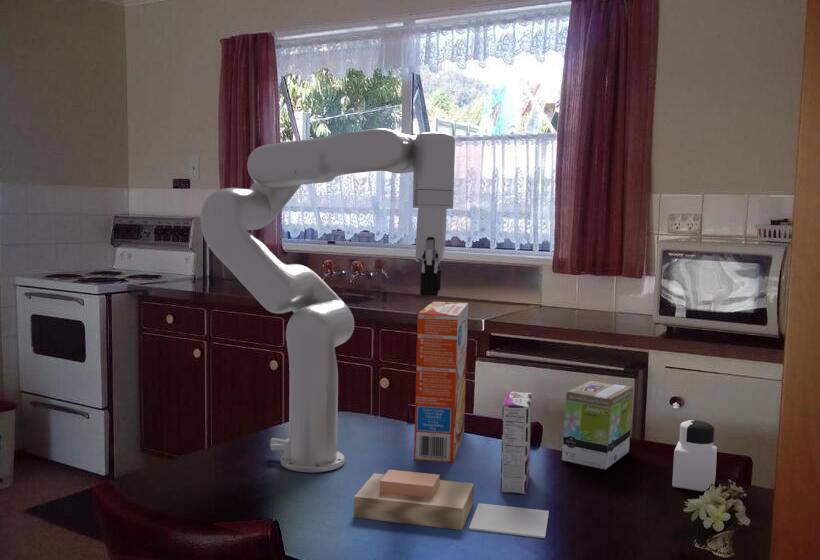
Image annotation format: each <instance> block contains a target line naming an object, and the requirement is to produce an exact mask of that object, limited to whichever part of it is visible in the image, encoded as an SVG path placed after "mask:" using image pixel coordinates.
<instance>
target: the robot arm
mask: <svg viewBox="0 0 820 560" xmlns="http://www.w3.org/2000/svg"><path fill="white" fill-rule="evenodd" d="M455 153H456V141H455V137H454V136H453V135H452V134H451V133H448V132H441V131H440V132H437V131H428V132H427V131H426V132H421V133H418V134H417V135H411V134H405V133H402V132H401V131H396V130H394V129H389V128H372V129H371V128H370V129H363V130H362V129H361V130H355V131H347V132H342V133H337V134H332V135H327V136H323V137H316V138H308V139H302V140H301V139H300V140H294V141H293V140H292V141H284V142H276V143H268V144H263V145H261V146H258V147H256V148H255V149H253V150H252V151H251V153H250V154H249V156H248V158H247V164H246V165H247V172H248V175H249V176H250V178H251V179H252V181H253V183H252V184H251V185H250V186H249V188H239V187H226V188H220V189H218V190H215V191H213V192H212V193H210V194H209V196H207V197H206V199H205V201H204V203H203V206H202V208H201V212H200V213H201V214H200V228H201V229H200V230H201V232H202V236H203V239H204V241H205V242H206V245H207V246H208V248H209V249H210V251H211V252H212V253H213V254H214V255H215V257H217V259H218V260H219V261H220V262H221V263H222V264H223V265H224V266H225V267H226V268H227V269H228V270H229V271H230V272H231V273H232V274H233V275H234V276H235V277H236V278H237V280H238V281H239V282H240V283H241V285H243V286H244V287H245V289H246V290H247V291H248V292H249V293H250V294H251V295H252V296H253V297H254V299H255V300H256V301H258V302H259V304H260V305H261V306H262V307H263V308H264V309H265V310H266V311H268V312H270V313H273V314H285V313H289V312H292V313H293V314H292V315H291V316H290V318H289V320H288V323H287V325H286V328H285V329H286V330H285V340H286V347H287V353H288V354H287V355H288V364H289V365H288V366H289V370H288V371H289V382H288V383H289V399H288V402H289V405H288V406H289V408H288V409H289V411H288V413H289V415H288V418H289V419H288V421H289V422H288V438H286V439H282V438H277V437H271V439H270V442H269V443H270V445H269V446H270V449H271V451H273V452H274V451H275V452H282V453H283V454H282V455H281V456H280V465H281V466H282V467H283V468H285V469H287V470H290V471H293V472H300V473H324V472H329V471H333V470H334V471H335V470H336V469H337V470H338V469H339V468H341V467H343V465H344V464H345V455H344V454H343V453H341V452H340V451H338V414H339V413H338V411H339V410H338V409H339V407H338V406H339V403H338V402H339V400H338V399H339V398H338V397H339V369H338V368H339V367H338V361H337V354H336V347H338V346H341V345H342V344H344V343H346V342H348V340H349V339H350V338H351V337H352V336H353V333H354V330H355V319H354V315H353V313H352V311H351V309H350V307H349V306H348V305H347V304H346V303H345V302H344V301H343V299H342V298H341V297H340V296H339V295H338V294H337V293H336V292H335V291H334V290H333V289H332V288H331V287H330V286H329V285H328V284H327V283H326V282H325V280H324V279H322V278H321V277H320V276H319V275H318V274H317V273H316V272H315V271H314V270H313V269H311V268H309V267H308V266H305V265H303V264H298V263H290V264H286V263H285V262H284V263H283V261H281V260H280V259H279V258H277V257H276V255H275V254H274V253H273V252H272V251H271V250H270V249H269V247H267V246H266V244H264V243H263V242H262V241H261V240H260V239H258V238H257V237H256V236H254V235H253V234H252V233H251V232H250V231H256V230H260V229H263V228H265V227H266V226H268V225H269V224H270V223H272V222H273V220H274V219H276V217H277V216H278V215H279V213H280V212H281V211H282V210H283V209H284V208H285V206H286V205H287V204H288V203H289V201H291V199H292V197H294V196H295V194H296V193H297V191H298V190H299V189H300V187H301V186H302V185H311V184H323V183H328V182H332V181H333V180H335V178H337V177H340V176H344V175H349V174H358V173H369V172H388V173H393V174H407V173H413V174H412V175H413V176H412V177H413V178H412V179H413V180H412V182H413V183H412V208H413V209H417V217H416V232H415V237H416V238H415V259H414V260H415V261H416V262H417V263H419V262H421V260H422V262H421V273H420V288H419V289H420V291H419V293H420V296H424V297H425V296H427V297H428V296H429V297H436V296H438V295H439V291H441V286H442V285H441V282H442V281H441V276H442V275H441V274H442V269H441V262H442V261H443V260H444V259H443V258H444V255H445V248H446V247H445V246H446V237H447V236H446V233H447V232H446V231H447V212H448V211H447V210H448V209H451V210H452V209H453V210H454V193H455V192H454V190H455V189H454V188H455V164H456V163H455V160H456V159H455V157H456V156H455V155H456V154H455Z"/></svg>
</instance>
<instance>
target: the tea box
mask: <svg viewBox="0 0 820 560" xmlns="http://www.w3.org/2000/svg"><path fill="white" fill-rule="evenodd" d="M565 393H566V397H565V409H564V423H563V441H562V448H561V449H562V451H561V453H562V454H561V461H564V462H569V463H573V464H576V465H577V464H578V465H581V466H587V467H592V468H596V469H602V470H607V469H608V468H609V467H611V466H612V465H613V464H615V463H616V462H617V461H619V460H620V459H621V458H622V457H624V456H625V455H626V454H628V453H629V452H630V451H629V450H630V438H631V427H632V425H631V424H632V412H633V411H632V410H633V409H632V408H633V396H634V387H633V386H629V385H622V384H615V383H609V382H604V381H596V380H589V381H587V382H585V383H582V384H580V385H578V386H576V387H573V388H571V389H569V390H567V391H566V392H565Z"/></svg>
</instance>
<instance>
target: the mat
mask: <svg viewBox="0 0 820 560" xmlns="http://www.w3.org/2000/svg"><path fill="white" fill-rule="evenodd" d="M549 514H550V510H546V509H535V508H528V507H527V508H526V507H517V506H507V505H499V504H490V503H479V502H478V504H477V506H476V509H475V511H474V513H473V517H472V518H471V522H470V523H469V527H468V530H471V531H477V532H486V533H495V534H504V535H512V536H521V537H529V538H538V539H546V533H547V527H548V521H549V520H548V519H549Z"/></svg>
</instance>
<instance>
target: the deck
mask: <svg viewBox="0 0 820 560" xmlns="http://www.w3.org/2000/svg"><path fill="white" fill-rule="evenodd" d="M385 474H386V473H375V472H374V473H372V475H371V476H370V478H369V479H368V480H367V481H366V482H365V484H363V485H362V487H361V488H360V489H359V490H358V492H357V493H356V494H355V495H354V496H353V518H355V519H356V518H357V519H364V520H365V519H366V520H374V521H381V522H382V521H384V522H392V523H398V524H408V525H416V526H417V525H418V526H426V527H433V528H434V527H435V528H442V529H451V530H459V531H462V530H463V529H464V526H465V524H466V522H467V519H468V517H469V514H470V512H471V509H472V507H473V505H474V497H475V495H474V494H475V492H474V491H475V483H473V482H472V483H471V482H462V481H461V482H460V481H453V480H443V479H440V486H439V488H438V490H437V491H436V493H435V495H434V497H433V498H425V497H416V496H407V495H398V494H389V493H380V480H381V479H382V478H383V476H384V475H385Z"/></svg>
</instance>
